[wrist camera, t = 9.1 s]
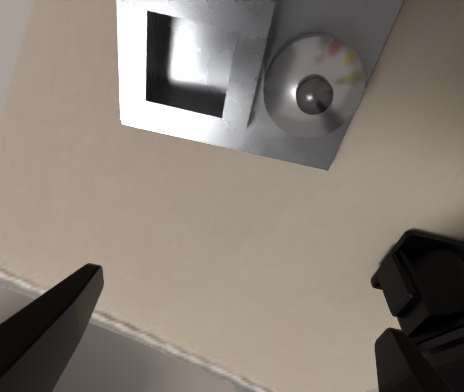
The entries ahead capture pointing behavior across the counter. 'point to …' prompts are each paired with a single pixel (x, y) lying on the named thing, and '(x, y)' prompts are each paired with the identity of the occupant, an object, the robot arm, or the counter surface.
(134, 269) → the counter surface
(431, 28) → the counter surface
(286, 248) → the counter surface
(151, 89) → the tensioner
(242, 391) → the counter surface
